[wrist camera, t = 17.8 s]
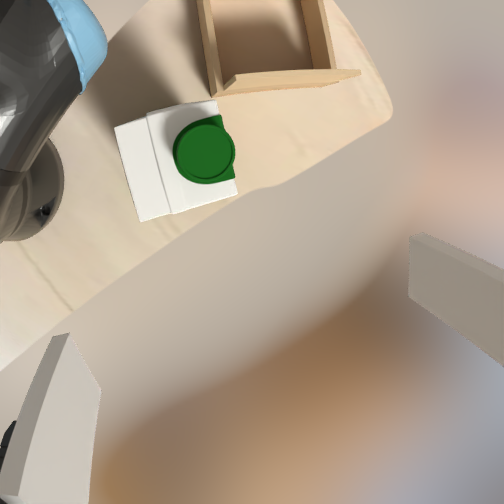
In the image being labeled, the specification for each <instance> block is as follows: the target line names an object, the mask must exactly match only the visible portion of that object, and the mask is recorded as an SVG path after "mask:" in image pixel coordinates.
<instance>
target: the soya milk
mask: <svg viewBox="0 0 504 504" xmlns="http://www.w3.org/2000/svg"><path fill="white" fill-rule="evenodd" d="M114 131H115V135H116V139H117V144H118V148H119V152H120V156H121V160H122V164H123V168H124V171H125V175H126V179H127V182H128V186H129V189H130V193H131V196H132V199H133V202H134V205H135V208H136V211H137V214H138V218H139V221H140V222H143V221H146V220H149V219H153V218H156V217H159V216H163V215H166V214H169V213H172V214H176V213H179V212H183V211H185V210H188V209H191V208H194V207H198V206H201V205H204V204H208V203H211V202H215V201H218V200H221V199H224V198H227V197H231V196H234V195H236V194H237V188H236V184H235V180H234V178H235V173H234V169H233V162H234V159H235V145H234V143H233V140H232V138H231V137H230V135H229V134H228V133H227V132H226V131H225V129H224V125H223V121H222V117H221V115H219V110H218V105H217V101H216V100H208V101H199V102H191V103H185V104H180V105H175V106H171V107H167V108H164V109H159V110H155V111H151V112H148V113H147V114H146V116H145V117H142V118H139V119H136V120H133V121H130V122H127V123H125V124H122V125H119V126H117V127H114Z"/></svg>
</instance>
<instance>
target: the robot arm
mask: <svg viewBox="0 0 504 504" xmlns="http://www.w3.org/2000/svg"><path fill="white" fill-rule="evenodd" d="M107 46H108V44H107V38H106V35H105V33H104V30H103V28H102V26H101V25H100V23H99V21H98V20H97V18H96V17H95V15H94V14H93V12H92V11H91V10H90V8H89V7H88V6H87V5H86V4H85V2H84V1H83V0H0V243H2V242H3V241H21V240H24V239H27V238H30V237H32V236H33V235H35V234H37V233H38V232H39V231H41V230H42V229H43V228H44V227H45V226H46V225H47V224H48V223H49V222H50V221H51V220H52V219H53V217H54V216H55V214H56V212H57V210H58V208H59V205H60V203H61V199H62V195H63V190H64V172H63V166H62V162H61V159H60V156H59V154H58V152H57V150H56V148H55V146H54V145H53V143H52V142H51V141H50V140H49V139H48V137H49V136H50V134H51V133H52V131H53V130H54V128H55V127H56V125H57V124H58V122H59V121H60V119H61V118H62V117H63V115H64V114H65V112H66V111H67V109H68V108H69V107H70V105H71V104H72V103H73V101H74V100H75V98H76V97H77V96H78V95H81V94H82V93H83V92H84V91H85V89H86V85H87V83H88V81H89V80H90V79H91V77H92V76H93V75H94V73H95V72H96V71H97V70H98V68H99V67H100V66H101V64H102V63H103V62H104V60H105V58H106V55H107ZM409 261H410V262H409V292H408V297H410V298H411V299H412V300H414V301H415V302H417V303H418V304H420V305H421V306H422V307H424V308H425V309H427V310H428V311H429V312H431V313H432V314H434V315H435V316H436V317H438V318H439V319H441V320H442V321H443V322H445V323H446V324H447V325H449V326H450V327H451V328H453V329H454V330H456V331H457V332H458V333H460V334H461V335H462V336H464V337H465V338H466V339H468V340H469V341H470V342H472V343H473V344H474V345H476V346H477V347H478V348H480V349H481V350H482V351H484V352H485V353H486V354H488V355H489V356H490V357H491V358H493V359H494V360H495V361H497V362H498V363H499V364H501V365H502V366H503V367H504V270H503V269H501V268H499V267H497V266H495V265H493V264H491V263H489V262H487V261H485V260H483V259H481V258H478V257H477V256H474V255H472V254H470V253H468V252H466V251H464V250H461V249H459V248H457V247H455V246H453V245H450V244H448V243H446V242H444V241H441V240H439V239H437V238H434V237H432V236H430V235H428V234H425V233H420V234H417V235H414V236H411V237H410V259H409ZM101 391H102V390H101V388H100V387H99V385H98V383H97V382H96V380H95V378H94V377H93V375H92V373H91V372H90V370H89V368H88V366H87V365H86V363H85V361H84V359H83V357H82V355H81V354H80V351H79V350H78V348H77V346H76V344H75V342H74V340H73V338H72V336H71V334H70V333H66V334H63V335H58V336H53V337H52V339H51V341H50V343H49V345H48V348H47V350H46V352H45V354H44V356H43V358H42V361H41V363H40V365H39V367H38V369H37V372H36V374H35V376H34V379H33V381H32V384H31V386H30V388H29V391H28V393H27V396H26V398H25V401H24V403H23V406H22V409H21V411H20V414H19V417H18V419H17V421H13V422H12V424H11V425H10V426H9V428H8V429H7V430H6V432H5V434H4V436H3V439H2V442H1V445H0V446H1V448H0V504H88V503H89V487H90V475H91V463H92V454H93V446H94V438H95V429H96V423H97V416H98V409H99V403H100V397H101Z"/></svg>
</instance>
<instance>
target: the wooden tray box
mask: <svg viewBox="0 0 504 504" xmlns="http://www.w3.org/2000/svg"><path fill="white" fill-rule="evenodd" d="M300 2H301V7H302V12H303V16H304V21H305V26H306V31H307V36H308V41H309V47H310V52H311V58H312V63H313V69H312V70H286V71H270V72H257V73H247V74H237V75H234V76H233V77H232V78H231V79H230V80H229V81H228V82H227V83H226V84H223V80H222V74H221V68H220V61H219V55H218V49H217V43H216V37H215V30H214V24H213V18H212V12H211V6H210V0H196V3H197V9H198V16H199V23H200V29H201V36H202V42H203V48H204V55H205V61H206V67H207V74H208V80H209V86H210V92H211V98H213V97H219V96H226V95H234V94H241V93H250V92H259V91H269V90H280V89H294V88H312V87H324V86H327V85H331V84H334V83H338V82H339V81H340V80H344V79H348V78H351V77H355V76H359V75H361V70H347V69H337V68H336V62H335V57H334V51H333V46H332V41H331V36H330V31H329V26H328V21H327V17H326V12H325V8H324V3H323V0H300Z"/></svg>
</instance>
